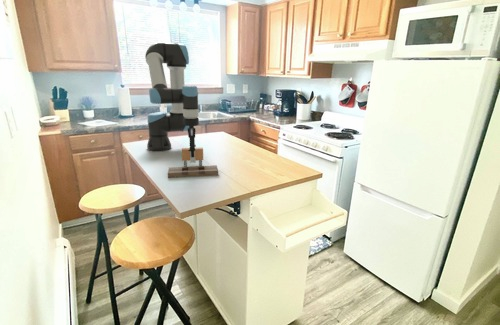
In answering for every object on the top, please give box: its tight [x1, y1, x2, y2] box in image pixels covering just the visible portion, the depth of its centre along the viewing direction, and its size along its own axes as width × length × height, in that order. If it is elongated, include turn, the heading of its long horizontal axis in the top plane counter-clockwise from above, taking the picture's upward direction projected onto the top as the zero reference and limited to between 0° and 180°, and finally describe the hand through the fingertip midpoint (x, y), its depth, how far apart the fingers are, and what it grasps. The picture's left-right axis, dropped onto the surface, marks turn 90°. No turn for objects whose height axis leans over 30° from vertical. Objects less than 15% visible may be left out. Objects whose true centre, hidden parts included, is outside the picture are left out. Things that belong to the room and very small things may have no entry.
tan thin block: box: [181, 147, 204, 167], centre depth 142 cm, size 3×11×10 cm, turn 103°
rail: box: [167, 164, 219, 179], centre depth 133 cm, size 8×24×2 cm, turn 103°
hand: (192, 160), depth 143 cm, fingers open, 6 cm apart
